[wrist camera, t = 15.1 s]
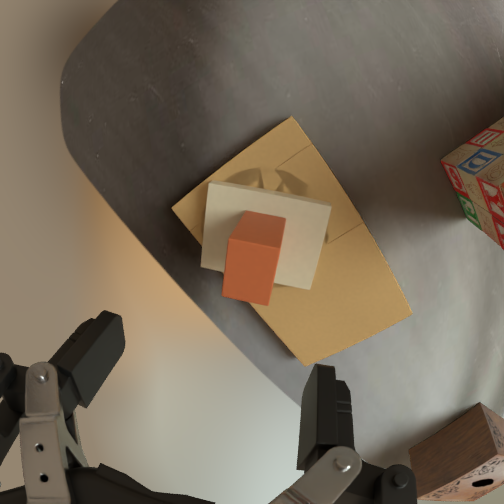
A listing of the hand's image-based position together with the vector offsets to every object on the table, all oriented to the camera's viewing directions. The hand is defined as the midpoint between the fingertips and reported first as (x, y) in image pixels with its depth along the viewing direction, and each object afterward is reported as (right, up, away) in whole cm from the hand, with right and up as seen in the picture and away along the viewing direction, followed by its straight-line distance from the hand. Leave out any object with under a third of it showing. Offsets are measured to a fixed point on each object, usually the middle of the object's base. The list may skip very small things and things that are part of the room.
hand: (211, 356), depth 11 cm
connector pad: (+3, +6, +13) cm, 15 cm away
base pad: (+6, +4, +14) cm, 16 cm away
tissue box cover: (+42, -30, +24) cm, 57 cm away
